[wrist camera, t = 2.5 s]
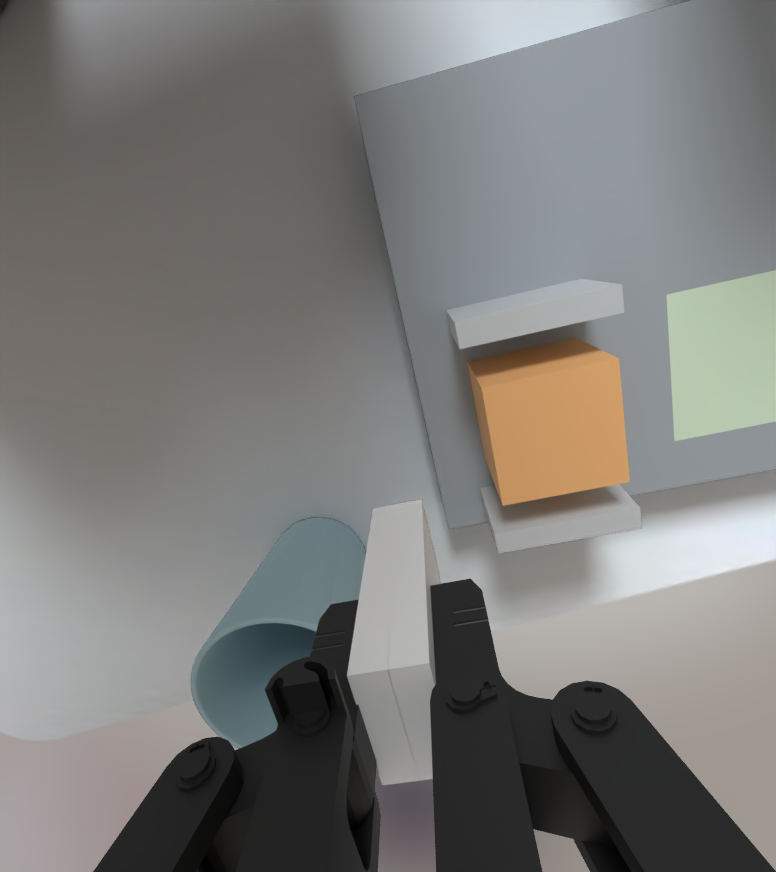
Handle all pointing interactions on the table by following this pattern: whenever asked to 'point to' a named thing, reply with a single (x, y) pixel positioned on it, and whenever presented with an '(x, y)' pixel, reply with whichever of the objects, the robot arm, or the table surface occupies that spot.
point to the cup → (274, 625)
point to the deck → (593, 245)
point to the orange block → (551, 420)
